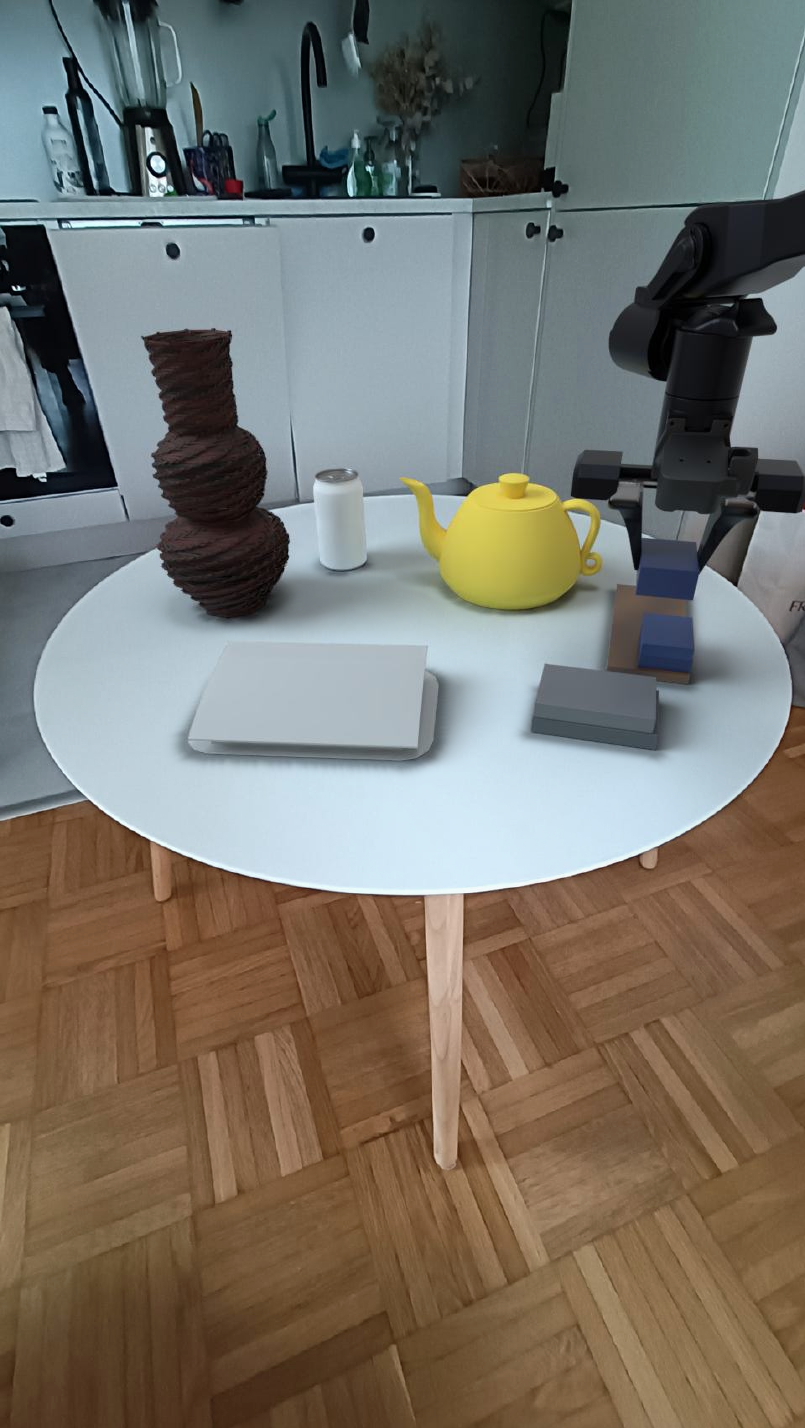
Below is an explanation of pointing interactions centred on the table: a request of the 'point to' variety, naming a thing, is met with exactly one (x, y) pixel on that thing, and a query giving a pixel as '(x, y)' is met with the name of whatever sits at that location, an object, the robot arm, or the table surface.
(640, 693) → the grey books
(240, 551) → the vase
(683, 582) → the navy block
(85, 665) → the table surface
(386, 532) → the table surface
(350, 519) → the can
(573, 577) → the teapot
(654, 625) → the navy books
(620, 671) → the board
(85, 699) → the table surface
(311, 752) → the book
